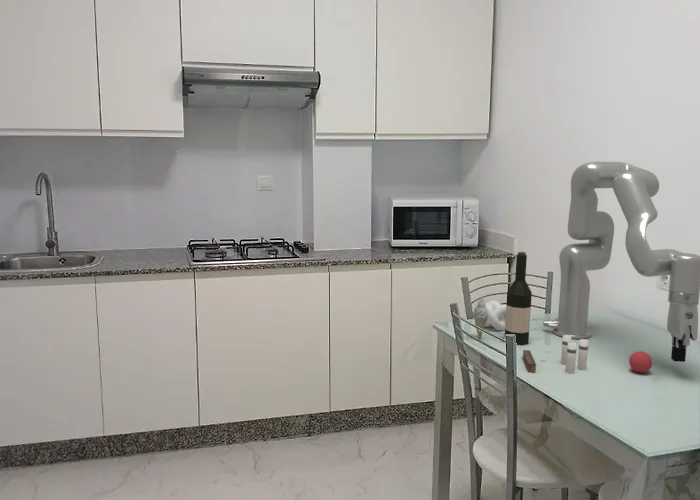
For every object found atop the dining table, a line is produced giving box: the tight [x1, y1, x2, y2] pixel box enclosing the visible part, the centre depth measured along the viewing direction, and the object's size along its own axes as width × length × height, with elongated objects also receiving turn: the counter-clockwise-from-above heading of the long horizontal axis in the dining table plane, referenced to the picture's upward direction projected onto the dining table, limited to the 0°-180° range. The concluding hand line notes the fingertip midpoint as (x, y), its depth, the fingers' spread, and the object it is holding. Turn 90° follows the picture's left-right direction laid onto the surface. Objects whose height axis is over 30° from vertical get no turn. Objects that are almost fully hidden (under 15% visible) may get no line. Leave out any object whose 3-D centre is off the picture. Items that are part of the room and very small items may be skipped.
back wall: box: [522, 349, 537, 373], centre depth 178 cm, size 2×12×2 cm, turn 171°
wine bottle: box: [504, 251, 533, 346], centre depth 197 cm, size 8×8×30 cm
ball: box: [628, 351, 653, 374], centre depth 173 cm, size 6×6×6 cm
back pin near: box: [565, 341, 577, 374], centre depth 172 cm, size 2×2×8 cm
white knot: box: [484, 300, 506, 332], centre depth 214 cm, size 11×12×9 cm
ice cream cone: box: [473, 295, 489, 340], centre depth 200 cm, size 5×5×15 cm
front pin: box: [576, 338, 589, 371], centre depth 175 cm, size 2×2×8 cm
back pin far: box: [560, 335, 572, 366], centre depth 179 cm, size 2×2×8 cm
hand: (678, 360), depth 171 cm, fingers closed
